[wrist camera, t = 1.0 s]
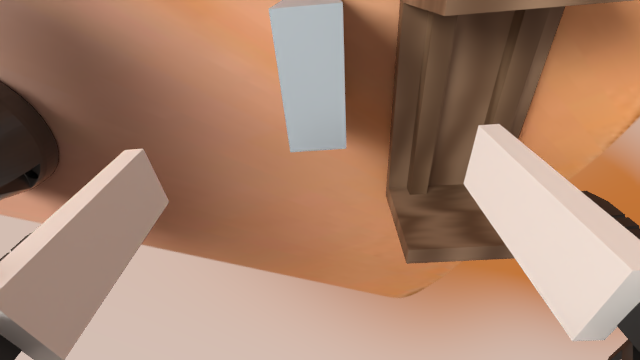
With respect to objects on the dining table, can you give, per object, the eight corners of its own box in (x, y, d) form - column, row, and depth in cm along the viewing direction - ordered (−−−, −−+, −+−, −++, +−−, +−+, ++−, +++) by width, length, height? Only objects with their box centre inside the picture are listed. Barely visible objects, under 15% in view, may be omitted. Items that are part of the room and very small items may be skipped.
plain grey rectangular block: (297, 106, 32) (290, 152, 23) (284, -2, 26) (268, 8, 18) (339, 103, 31) (346, 148, 23) (335, -6, 26) (342, 2, 17)
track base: (385, 195, 38) (406, 263, 29) (402, -26, 25) (450, -27, 16) (493, 188, 38) (548, 256, 29) (571, -41, 24) (725, -51, 15)
